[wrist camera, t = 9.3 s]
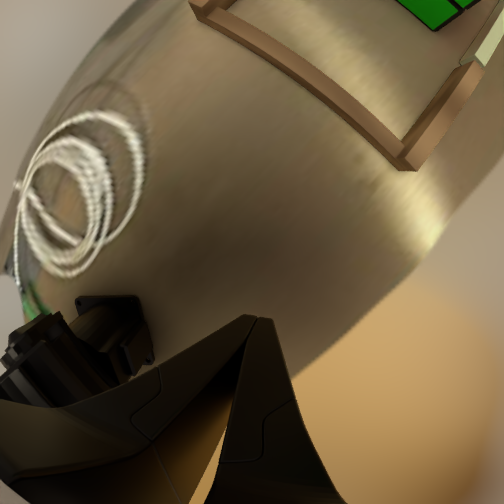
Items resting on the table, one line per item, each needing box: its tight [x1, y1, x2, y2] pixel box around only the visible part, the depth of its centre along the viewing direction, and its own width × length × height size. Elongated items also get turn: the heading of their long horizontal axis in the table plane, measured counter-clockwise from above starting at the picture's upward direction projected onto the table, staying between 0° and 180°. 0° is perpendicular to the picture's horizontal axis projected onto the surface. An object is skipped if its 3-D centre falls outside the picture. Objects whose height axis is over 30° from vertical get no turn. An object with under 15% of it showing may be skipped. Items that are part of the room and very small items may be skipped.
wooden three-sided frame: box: [188, 0, 485, 172], centre depth 15 cm, size 11×18×3 cm, turn 51°
